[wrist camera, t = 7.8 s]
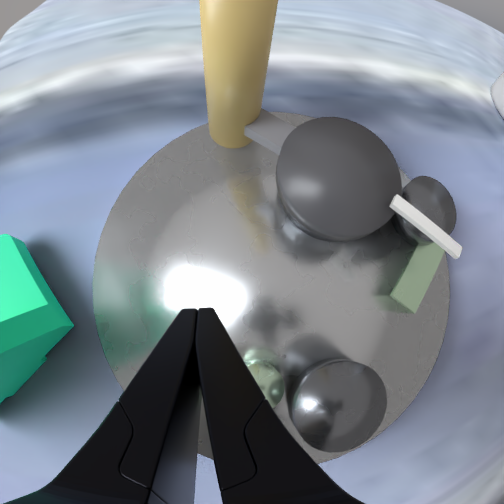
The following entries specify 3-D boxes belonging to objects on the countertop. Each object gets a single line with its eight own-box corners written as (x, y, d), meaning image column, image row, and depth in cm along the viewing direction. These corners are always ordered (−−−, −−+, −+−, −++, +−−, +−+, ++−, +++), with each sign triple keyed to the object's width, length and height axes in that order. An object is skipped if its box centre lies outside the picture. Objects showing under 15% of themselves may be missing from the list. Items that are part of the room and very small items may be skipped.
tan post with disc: (448, 219, 19) (568, 150, 8) (410, 311, 17) (563, 288, 6) (245, 85, 20) (257, -56, 9) (179, 156, 18) (139, 4, 7)
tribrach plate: (477, 248, 20) (504, 237, 17) (316, 509, 15) (329, 534, 12) (244, 76, 22) (247, 46, 18) (41, 313, 17) (14, 311, 14)
